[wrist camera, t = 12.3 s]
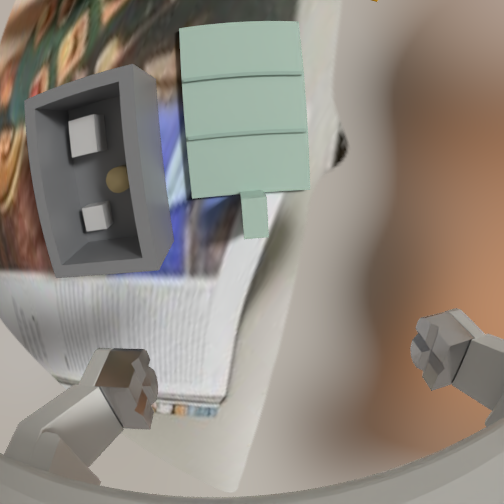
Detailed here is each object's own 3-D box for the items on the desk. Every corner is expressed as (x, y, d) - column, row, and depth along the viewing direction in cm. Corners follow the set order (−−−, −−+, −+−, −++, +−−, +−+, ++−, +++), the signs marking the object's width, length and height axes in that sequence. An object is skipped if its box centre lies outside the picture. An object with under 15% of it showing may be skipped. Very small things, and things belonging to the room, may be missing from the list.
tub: (63, 103, 20) (24, 100, 15) (155, 78, 20) (132, 64, 15) (85, 249, 26) (56, 277, 20) (174, 240, 26) (158, 270, 20)
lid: (180, 30, 19) (172, 15, 16) (296, 24, 19) (306, 8, 16) (197, 229, 26) (191, 243, 22) (309, 220, 26) (320, 233, 22)
